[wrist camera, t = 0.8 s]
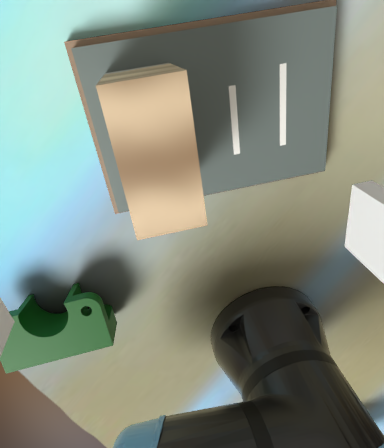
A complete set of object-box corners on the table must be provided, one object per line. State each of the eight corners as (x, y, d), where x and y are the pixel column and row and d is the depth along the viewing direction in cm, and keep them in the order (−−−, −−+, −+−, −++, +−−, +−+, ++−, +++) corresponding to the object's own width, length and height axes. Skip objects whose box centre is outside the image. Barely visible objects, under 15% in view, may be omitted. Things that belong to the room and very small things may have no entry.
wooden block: (187, 179, 31) (207, 225, 23) (134, 189, 30) (137, 240, 22) (168, 62, 26) (186, 70, 18) (105, 73, 25) (95, 85, 17)
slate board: (319, 167, 35) (329, 174, 33) (115, 209, 33) (114, 218, 31) (329, 0, 27) (343, -4, 25) (66, 41, 25) (61, 41, 24)
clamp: (92, 265, 41) (113, 288, 33) (105, 306, 43) (128, 337, 35) (-15, 306, 36) (-19, 344, 28) (5, 351, 37) (6, 399, 29)
